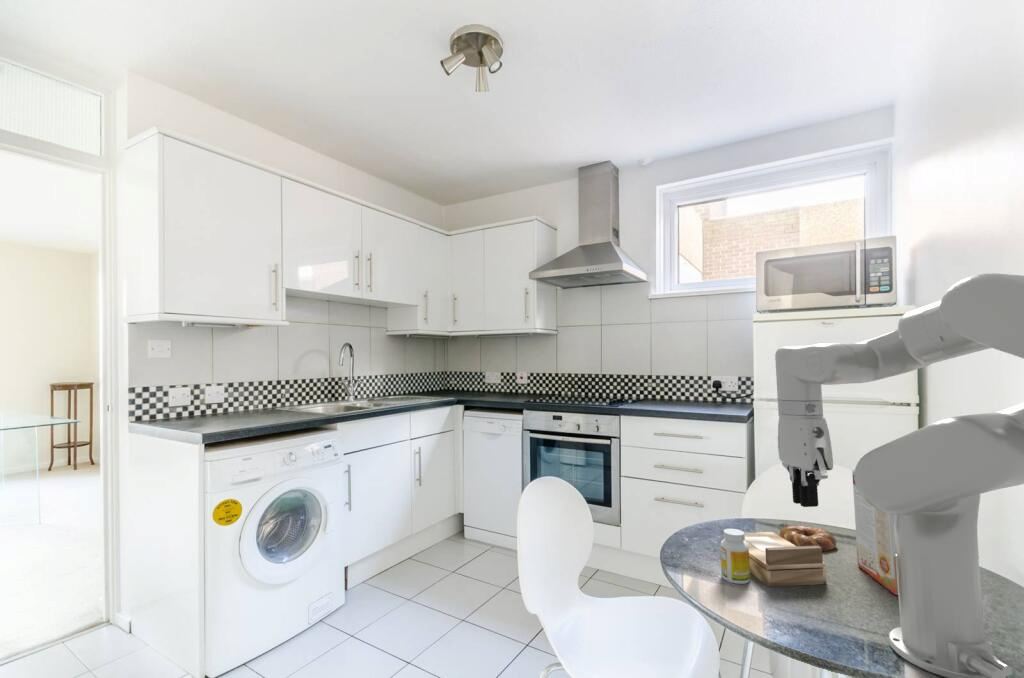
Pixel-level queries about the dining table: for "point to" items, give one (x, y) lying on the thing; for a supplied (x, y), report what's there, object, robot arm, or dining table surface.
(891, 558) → the cracker box
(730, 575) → the supplement bottle
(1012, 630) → the dining table surface
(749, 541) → the lid
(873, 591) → the dining table surface
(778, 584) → the light wood shallow tray
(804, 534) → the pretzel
